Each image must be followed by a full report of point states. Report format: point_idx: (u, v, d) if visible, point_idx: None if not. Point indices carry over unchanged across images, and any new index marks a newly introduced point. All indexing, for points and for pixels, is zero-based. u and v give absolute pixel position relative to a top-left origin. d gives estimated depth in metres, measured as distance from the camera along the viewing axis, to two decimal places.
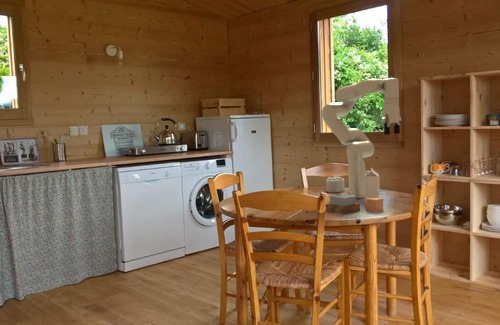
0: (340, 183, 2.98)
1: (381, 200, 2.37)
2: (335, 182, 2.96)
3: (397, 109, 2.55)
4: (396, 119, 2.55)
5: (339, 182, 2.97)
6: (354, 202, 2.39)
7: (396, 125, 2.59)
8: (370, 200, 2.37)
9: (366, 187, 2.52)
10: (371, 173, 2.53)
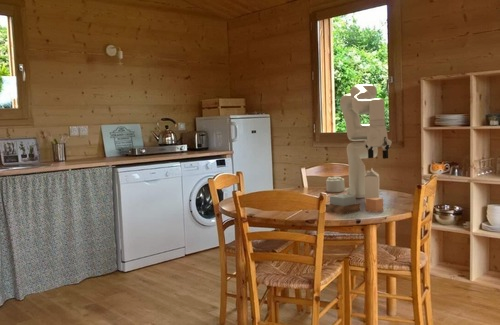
0: (340, 183, 2.98)
1: (381, 200, 2.37)
2: (335, 182, 2.96)
3: None
4: None
5: (339, 182, 2.98)
6: (354, 202, 2.39)
7: (370, 149, 2.43)
8: (370, 200, 2.37)
9: (366, 187, 2.52)
10: (371, 173, 2.53)
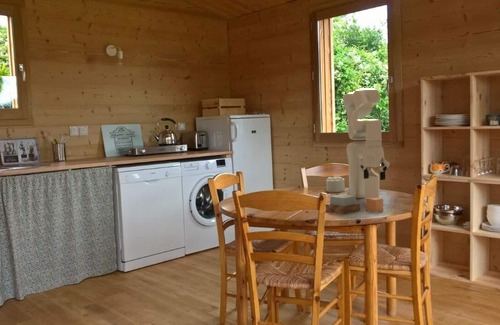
0: (340, 183, 2.98)
1: (381, 200, 2.37)
2: (335, 182, 2.97)
3: None
4: None
5: (339, 182, 2.98)
6: (354, 202, 2.39)
7: (366, 170, 2.40)
8: (370, 200, 2.37)
9: (366, 187, 2.52)
10: (371, 173, 2.53)
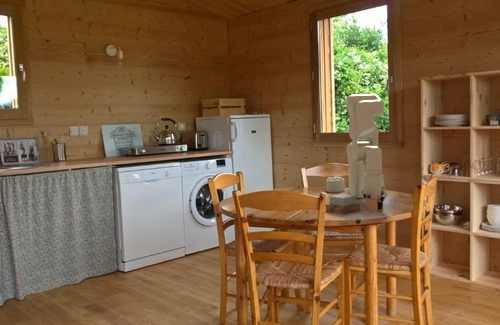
0: (340, 183, 2.98)
1: None
2: (335, 182, 2.97)
3: None
4: None
5: (339, 182, 2.98)
6: (354, 202, 2.39)
7: None
8: (370, 200, 2.37)
9: None
10: None
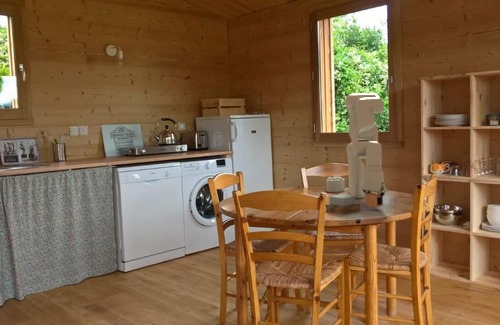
0: (340, 183, 2.98)
1: None
2: (335, 182, 2.97)
3: None
4: None
5: (339, 182, 2.98)
6: (353, 202, 2.39)
7: None
8: (370, 195, 2.37)
9: None
10: None
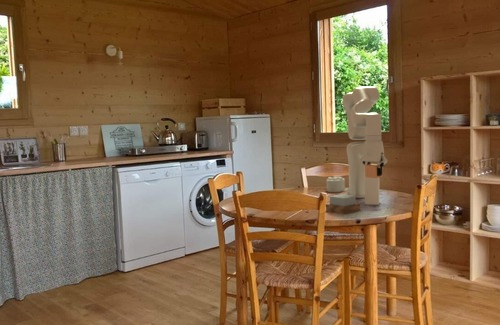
0: (340, 183, 2.98)
1: None
2: (335, 182, 2.97)
3: None
4: None
5: (339, 182, 2.98)
6: (354, 202, 2.39)
7: None
8: (369, 166, 2.35)
9: (366, 187, 2.52)
10: None
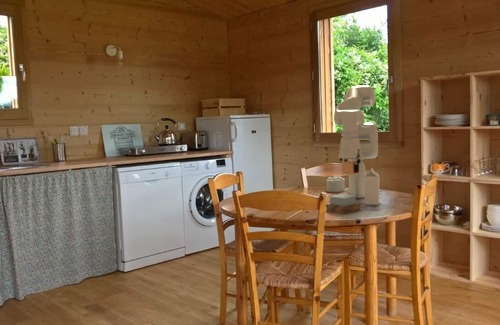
0: (340, 183, 2.99)
1: None
2: (335, 182, 2.97)
3: None
4: None
5: (339, 182, 2.98)
6: (354, 202, 2.39)
7: None
8: (346, 163, 2.36)
9: (366, 187, 2.52)
10: (371, 173, 2.53)
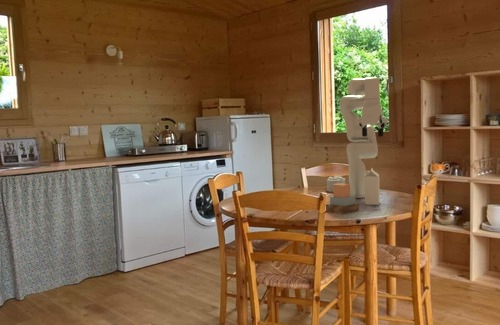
0: None
1: (348, 186, 2.38)
2: (336, 182, 2.98)
3: None
4: None
5: (340, 182, 2.99)
6: (354, 202, 2.39)
7: (364, 127, 2.46)
8: (338, 186, 2.37)
9: (366, 187, 2.52)
10: (371, 173, 2.53)
